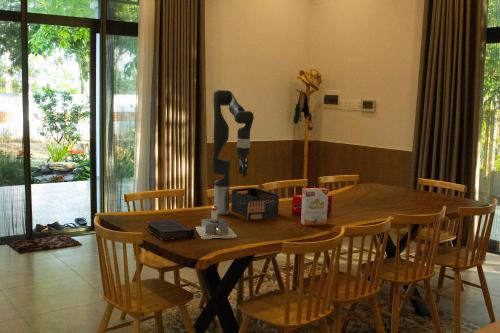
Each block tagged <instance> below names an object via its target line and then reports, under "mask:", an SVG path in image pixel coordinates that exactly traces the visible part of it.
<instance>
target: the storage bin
mask: <svg viewBox="0 0 500 333" xmlns="http://www.w3.org/2000/svg"><path fill="white" fill-rule="evenodd" d="M246 191H247V193H241V192H246ZM260 200H261V207H262V202H263V200H264V212H265V218H272V217H278V216H279V208H280V206H279V205H280V203H279V202H280V194H278V193H274V192H271V191H268V190H265V189H261V188H258V187H245V188H233V189H231V198H230V201H231V202H230V210H231V211H232V212H235V213H237V214H240V215H243V216H246V217H247V212H248V203H249V201H250V208H251V202H252V201H253V207H254V201H255V202H256V205H257V201H258V204H259V203H260Z"/></svg>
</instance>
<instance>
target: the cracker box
mask: <svg viewBox="0 0 500 333" xmlns="http://www.w3.org/2000/svg"><path fill="white" fill-rule="evenodd" d="M301 194H302V195H301V214H300V215H301V216H300V217H301V218H300V224H301V225H303V226H326V225H327V220H328V219H327V217H328V205H329V204H328V203H329V189H328V188H326V187H320V188H319V187H317V188H316V187H313V188H311V187H309V188H307V187H305V188H302V193H301Z"/></svg>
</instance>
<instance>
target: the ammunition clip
mask: <svg viewBox="0 0 500 333" xmlns="http://www.w3.org/2000/svg"><path fill="white" fill-rule="evenodd" d="M264 200H265V199H264ZM264 200H263V202H262V207H261V200H260V203H259V204H258V201H257V205H256V202H255V201H254V207H253V201H252V202H251V208H250V201H249V203H248V212H247V216H246V221H247V222H261V221H265V220H266V219H265V212H264Z"/></svg>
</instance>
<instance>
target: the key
mask: <svg viewBox="0 0 500 333" xmlns="http://www.w3.org/2000/svg"><path fill="white" fill-rule="evenodd" d="M210 210H211V214H210V215H211V217H210V219H211V223H213V222H217V219H218V214H217V213H218V206H214V205H213V206H212V205H211V206H210Z"/></svg>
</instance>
